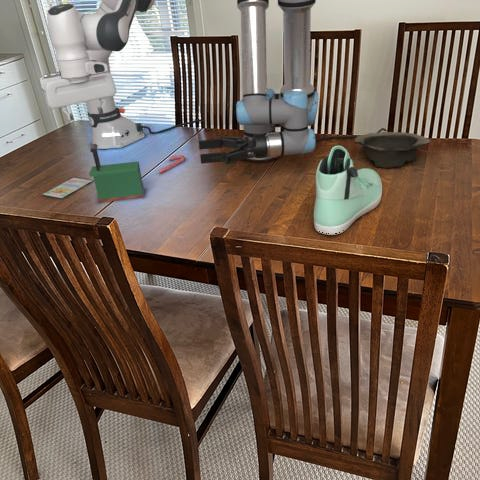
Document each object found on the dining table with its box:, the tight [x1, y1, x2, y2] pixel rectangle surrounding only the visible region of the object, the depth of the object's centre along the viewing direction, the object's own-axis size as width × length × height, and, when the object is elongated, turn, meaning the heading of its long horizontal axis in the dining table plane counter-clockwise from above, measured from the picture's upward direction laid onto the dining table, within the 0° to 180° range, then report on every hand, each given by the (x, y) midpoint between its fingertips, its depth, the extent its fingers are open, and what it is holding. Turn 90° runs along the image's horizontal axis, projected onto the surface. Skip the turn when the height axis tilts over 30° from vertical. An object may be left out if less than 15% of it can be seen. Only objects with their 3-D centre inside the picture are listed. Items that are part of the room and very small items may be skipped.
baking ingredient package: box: [42, 177, 92, 199], centre depth 165 cm, size 9×1×15 cm
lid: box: [89, 144, 140, 177], centre depth 150 cm, size 15×6×9 cm, turn 97°
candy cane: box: [158, 154, 186, 174], centre depth 176 cm, size 6×15×2 cm, turn 145°
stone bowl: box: [354, 131, 431, 169], centre depth 165 cm, size 25×25×9 cm
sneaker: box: [313, 145, 383, 236], centre depth 133 cm, size 14×35×20 cm, turn 152°
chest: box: [92, 165, 145, 203], centre depth 155 cm, size 14×6×9 cm, turn 97°
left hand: (86, 116), depth 143 cm, fingers open, 8 cm apart
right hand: (199, 151), depth 151 cm, fingers open, 13 cm apart
